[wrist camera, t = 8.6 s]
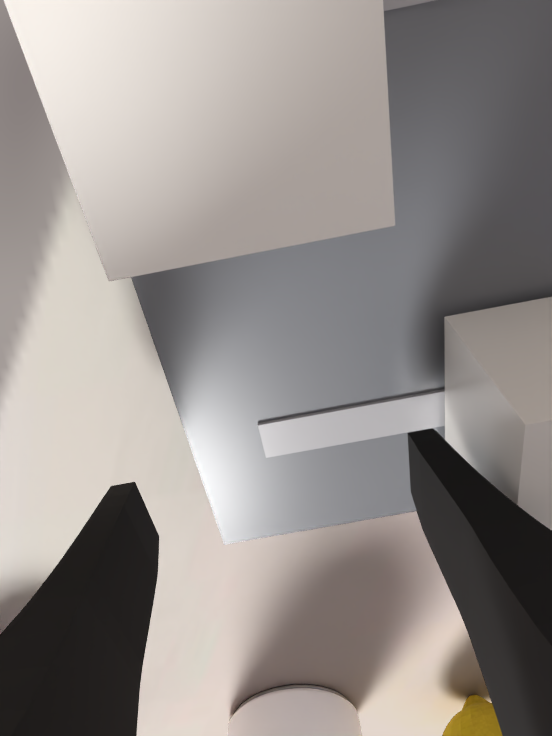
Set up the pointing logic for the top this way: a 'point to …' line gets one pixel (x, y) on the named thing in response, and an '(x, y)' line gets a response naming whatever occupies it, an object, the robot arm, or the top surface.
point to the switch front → (214, 122)
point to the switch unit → (370, 285)
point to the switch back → (503, 399)
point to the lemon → (474, 719)
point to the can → (296, 713)
